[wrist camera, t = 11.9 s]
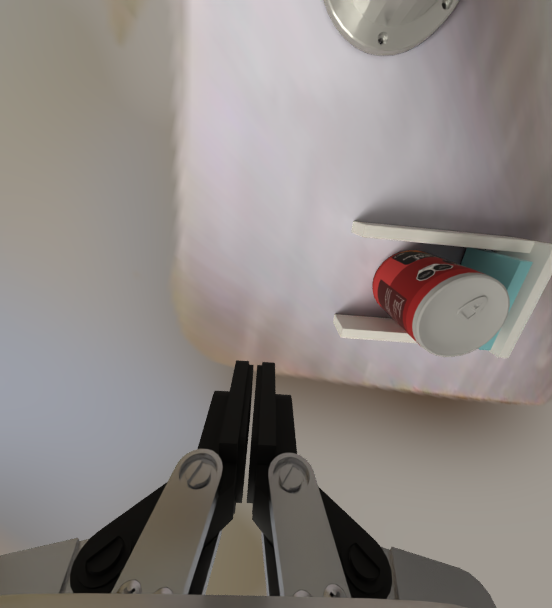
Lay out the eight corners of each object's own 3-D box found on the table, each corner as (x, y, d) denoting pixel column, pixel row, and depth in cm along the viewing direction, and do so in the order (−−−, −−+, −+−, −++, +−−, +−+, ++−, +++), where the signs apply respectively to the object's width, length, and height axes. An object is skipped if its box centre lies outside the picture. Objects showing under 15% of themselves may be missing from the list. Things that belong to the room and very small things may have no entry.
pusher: (467, 247, 30) (520, 260, 24) (477, 248, 30) (533, 262, 24) (439, 320, 34) (479, 349, 27) (448, 321, 34) (490, 350, 27)
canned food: (446, 264, 31) (531, 296, 21) (407, 318, 34) (466, 370, 24) (394, 237, 30) (459, 258, 20) (358, 295, 33) (398, 340, 22)
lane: (353, 221, 29) (372, 227, 24) (512, 236, 30) (566, 246, 25) (333, 322, 34) (345, 346, 28) (470, 332, 35) (507, 358, 30)
